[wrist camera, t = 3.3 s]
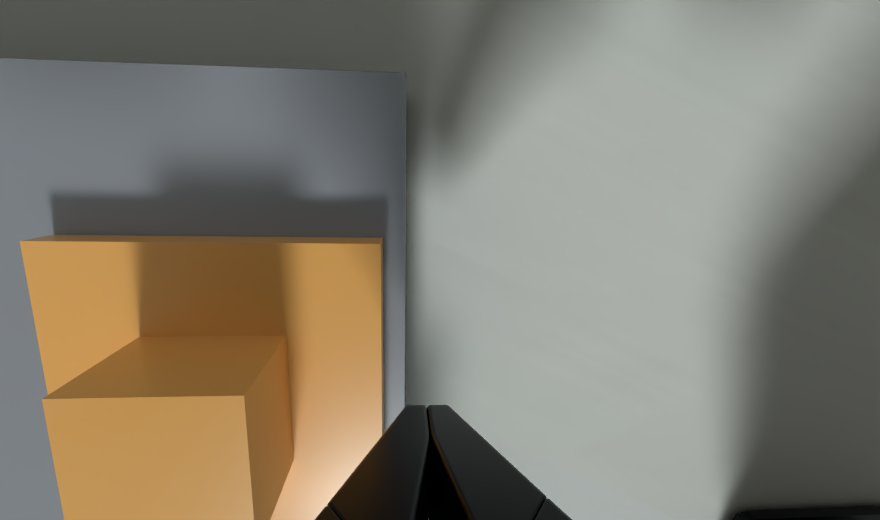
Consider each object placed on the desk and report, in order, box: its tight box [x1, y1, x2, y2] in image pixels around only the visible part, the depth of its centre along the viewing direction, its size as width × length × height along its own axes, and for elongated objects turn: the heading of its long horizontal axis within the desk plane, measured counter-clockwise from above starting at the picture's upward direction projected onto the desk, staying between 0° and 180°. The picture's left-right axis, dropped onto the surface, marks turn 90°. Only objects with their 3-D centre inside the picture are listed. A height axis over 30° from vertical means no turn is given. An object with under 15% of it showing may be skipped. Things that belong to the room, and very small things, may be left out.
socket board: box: [0, 58, 406, 520], centre depth 12 cm, size 15×14×3 cm
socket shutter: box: [20, 235, 384, 520], centre depth 9 cm, size 7×7×3 cm
